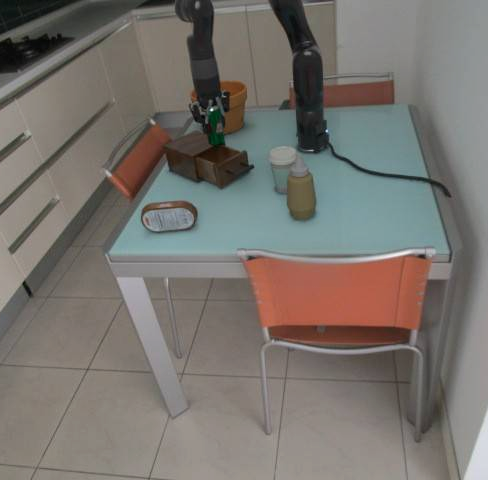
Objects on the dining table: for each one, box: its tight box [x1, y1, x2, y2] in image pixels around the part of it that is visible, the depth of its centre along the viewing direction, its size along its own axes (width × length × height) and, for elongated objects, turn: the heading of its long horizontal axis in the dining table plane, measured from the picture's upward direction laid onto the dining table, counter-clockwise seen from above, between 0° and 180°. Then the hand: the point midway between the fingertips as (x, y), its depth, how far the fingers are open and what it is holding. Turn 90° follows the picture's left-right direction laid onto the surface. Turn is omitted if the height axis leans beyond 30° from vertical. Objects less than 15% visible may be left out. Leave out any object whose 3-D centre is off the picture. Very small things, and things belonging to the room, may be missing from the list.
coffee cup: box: [267, 145, 298, 194], centre depth 135 cm, size 8×8×12 cm
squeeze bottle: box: [286, 152, 318, 221], centre depth 121 cm, size 8×8×18 cm
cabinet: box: [163, 129, 227, 184], centre depth 152 cm, size 15×14×9 cm
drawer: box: [195, 145, 255, 190], centre depth 144 cm, size 19×12×7 cm, turn 47°
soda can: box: [202, 104, 226, 146], centre depth 138 cm, size 5×5×12 cm
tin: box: [140, 199, 199, 233], centre depth 124 cm, size 15×3×8 cm, turn 92°
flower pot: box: [189, 80, 248, 135], centre depth 176 cm, size 21×21×15 cm
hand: (215, 130), depth 139 cm, fingers closed on soda can, 5 cm apart
